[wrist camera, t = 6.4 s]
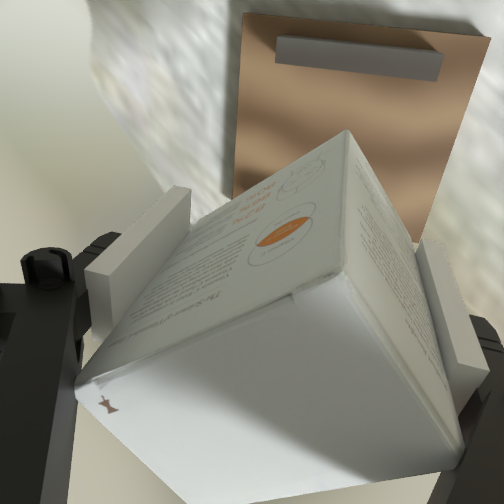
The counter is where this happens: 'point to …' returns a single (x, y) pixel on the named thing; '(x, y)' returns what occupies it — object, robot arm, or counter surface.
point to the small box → (282, 346)
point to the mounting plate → (354, 101)
